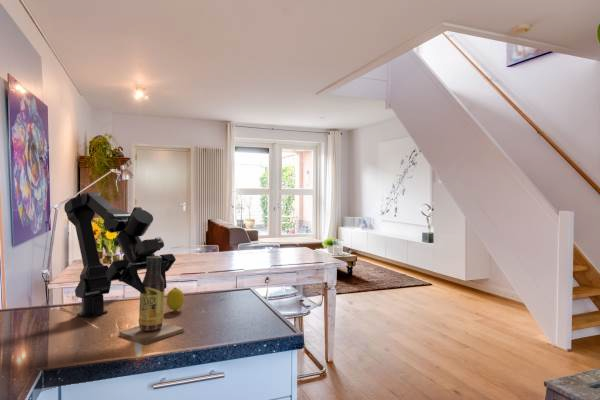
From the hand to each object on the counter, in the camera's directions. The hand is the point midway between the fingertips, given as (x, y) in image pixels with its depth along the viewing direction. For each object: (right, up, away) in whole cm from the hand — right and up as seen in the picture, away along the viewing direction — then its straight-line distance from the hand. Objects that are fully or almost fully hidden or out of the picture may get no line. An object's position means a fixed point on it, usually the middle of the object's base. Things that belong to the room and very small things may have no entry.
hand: (155, 290), depth 103 cm
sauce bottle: (-1, -11, +1) cm, 11 cm away
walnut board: (-1, -12, +1) cm, 12 cm away
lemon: (-2, -13, +22) cm, 25 cm away
